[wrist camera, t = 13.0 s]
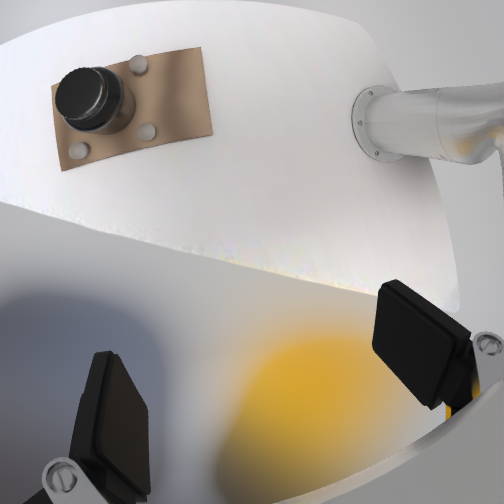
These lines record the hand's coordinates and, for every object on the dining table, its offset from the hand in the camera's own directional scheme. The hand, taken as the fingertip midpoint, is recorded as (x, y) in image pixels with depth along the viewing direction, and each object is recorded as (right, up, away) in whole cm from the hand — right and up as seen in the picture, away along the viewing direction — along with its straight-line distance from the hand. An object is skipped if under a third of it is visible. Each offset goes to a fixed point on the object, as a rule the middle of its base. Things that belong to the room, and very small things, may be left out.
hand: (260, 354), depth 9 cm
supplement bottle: (-17, +21, +20) cm, 33 cm away
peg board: (-16, +22, +21) cm, 34 cm away
